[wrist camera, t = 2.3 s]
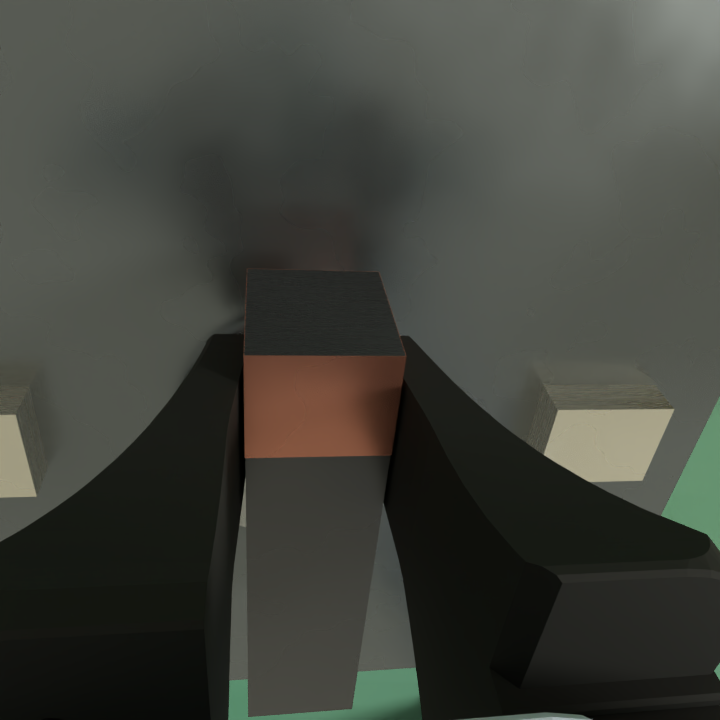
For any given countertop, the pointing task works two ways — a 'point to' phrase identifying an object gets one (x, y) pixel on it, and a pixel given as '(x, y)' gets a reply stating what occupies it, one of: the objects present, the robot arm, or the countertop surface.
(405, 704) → the countertop surface
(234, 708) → the countertop surface
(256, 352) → the copper-capped grey post
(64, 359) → the thin square base plate
